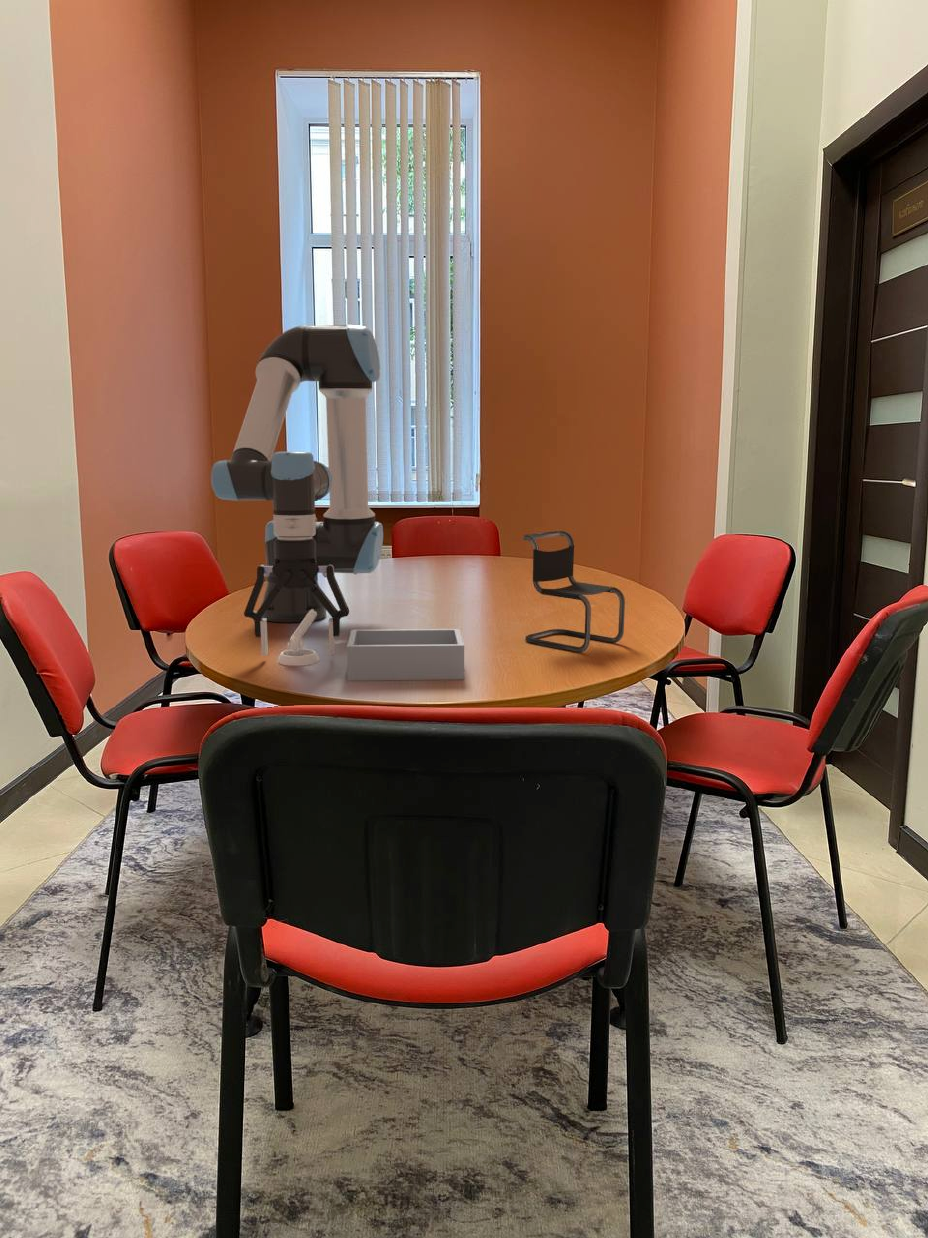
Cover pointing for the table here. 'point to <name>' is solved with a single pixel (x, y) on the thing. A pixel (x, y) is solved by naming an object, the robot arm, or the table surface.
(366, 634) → the well
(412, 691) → the table surface
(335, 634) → the robot arm
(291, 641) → the white ring with handle
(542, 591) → the chair
